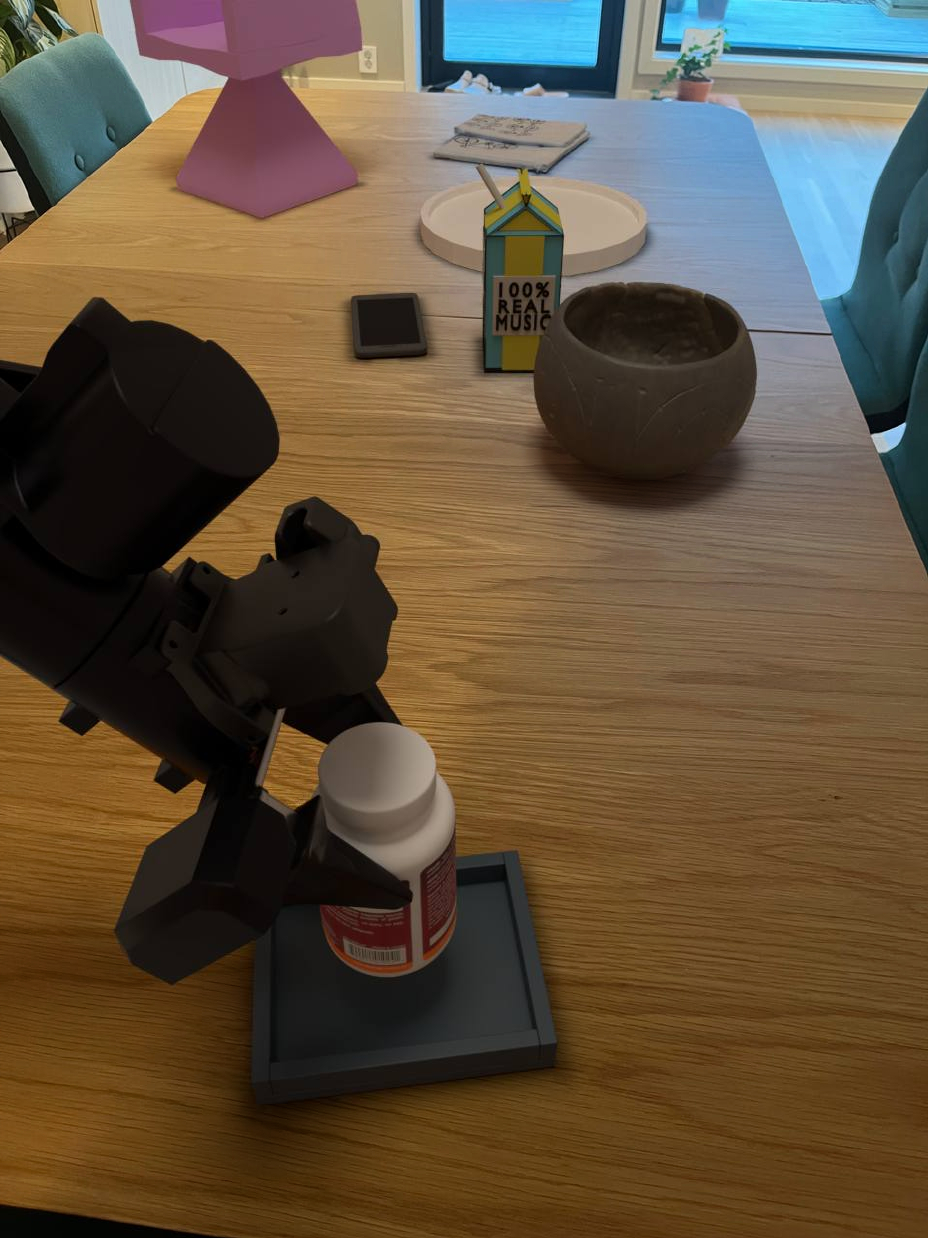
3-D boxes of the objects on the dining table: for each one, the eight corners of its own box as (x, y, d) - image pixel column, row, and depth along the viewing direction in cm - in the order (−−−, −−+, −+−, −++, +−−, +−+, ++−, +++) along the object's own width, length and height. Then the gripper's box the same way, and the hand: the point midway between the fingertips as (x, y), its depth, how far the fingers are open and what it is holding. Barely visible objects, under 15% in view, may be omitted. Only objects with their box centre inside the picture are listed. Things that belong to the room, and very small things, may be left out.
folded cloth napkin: (591, 137, 158) (592, 122, 156) (545, 175, 144) (546, 159, 142) (478, 123, 164) (479, 108, 162) (424, 158, 150) (423, 142, 148)
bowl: (691, 395, 95) (712, 262, 87) (775, 501, 82) (810, 356, 74) (507, 415, 93) (511, 280, 84) (563, 529, 79) (575, 381, 71)
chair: (164, 189, 140) (115, -73, 120) (274, 155, 151) (245, -90, 132) (261, 222, 130) (224, -58, 110) (370, 183, 141) (354, -77, 122)
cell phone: (417, 297, 112) (417, 291, 111) (428, 355, 101) (428, 348, 101) (350, 301, 111) (350, 294, 111) (354, 359, 101) (354, 352, 100)
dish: (257, 1106, 46) (250, 1082, 44) (262, 904, 54) (256, 878, 52) (554, 1067, 47) (557, 1042, 46) (516, 875, 55) (517, 849, 54)
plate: (588, 295, 113) (589, 273, 111) (377, 248, 123) (376, 227, 122) (678, 217, 131) (681, 197, 130) (488, 182, 142) (488, 163, 140)
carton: (474, 339, 104) (475, 153, 93) (550, 339, 104) (560, 152, 93) (475, 373, 99) (476, 179, 87) (555, 372, 99) (567, 179, 87)
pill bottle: (416, 846, 50) (410, 687, 43) (481, 942, 46) (487, 785, 39) (300, 901, 48) (274, 742, 41) (359, 1007, 44) (341, 852, 37)
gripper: (141, 709, 25) (558, 981, 32) (298, 361, 39) (563, 599, 46) (-64, 874, 31) (327, 1076, 37) (138, 517, 45) (395, 710, 51)
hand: (415, 836), depth 43 cm, fingers closed on pill bottle, 6 cm apart
